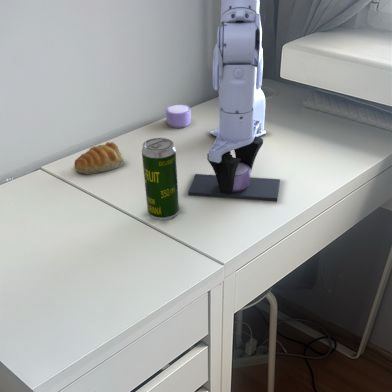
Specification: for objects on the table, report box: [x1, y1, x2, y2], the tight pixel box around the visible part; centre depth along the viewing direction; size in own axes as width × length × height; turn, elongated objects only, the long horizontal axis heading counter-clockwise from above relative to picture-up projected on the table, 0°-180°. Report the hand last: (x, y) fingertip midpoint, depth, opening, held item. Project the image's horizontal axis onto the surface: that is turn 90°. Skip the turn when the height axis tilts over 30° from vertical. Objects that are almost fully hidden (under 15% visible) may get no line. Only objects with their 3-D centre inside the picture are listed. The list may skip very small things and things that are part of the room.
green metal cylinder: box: [141, 137, 180, 221], centre depth 83 cm, size 5×5×12 cm
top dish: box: [232, 162, 252, 192], centre depth 91 cm, size 6×6×3 cm
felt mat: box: [187, 173, 281, 202], centre depth 92 cm, size 16×7×1 cm, turn 80°
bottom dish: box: [165, 104, 192, 129], centre depth 113 cm, size 6×6×3 cm
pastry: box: [74, 141, 125, 175], centre depth 99 cm, size 9×7×4 cm
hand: (234, 185), depth 92 cm, fingers closed on top dish, 6 cm apart
